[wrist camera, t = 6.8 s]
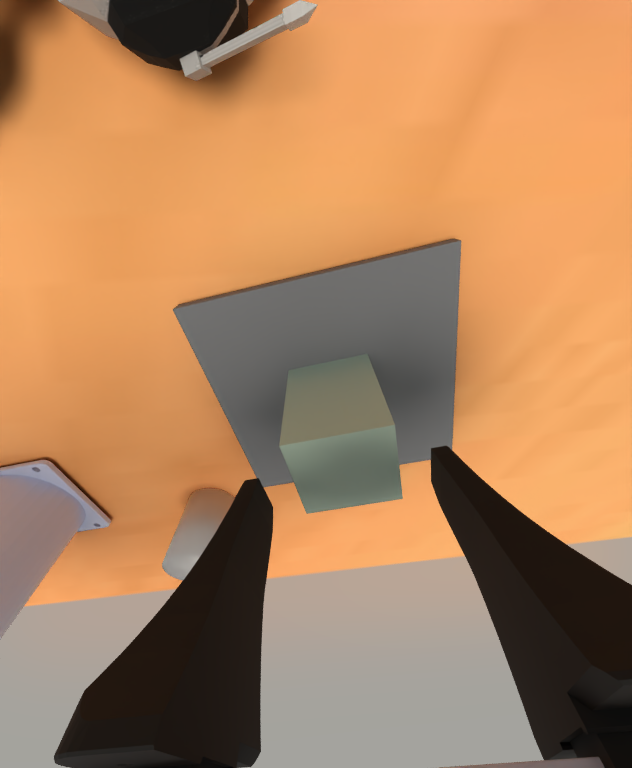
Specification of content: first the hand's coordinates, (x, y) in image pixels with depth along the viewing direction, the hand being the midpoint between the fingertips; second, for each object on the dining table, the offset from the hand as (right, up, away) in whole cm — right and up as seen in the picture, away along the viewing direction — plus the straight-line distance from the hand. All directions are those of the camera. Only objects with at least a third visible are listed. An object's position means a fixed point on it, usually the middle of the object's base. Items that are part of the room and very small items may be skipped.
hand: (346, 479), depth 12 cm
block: (0, +3, +5) cm, 6 cm away
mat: (0, +4, +6) cm, 7 cm away
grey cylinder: (-10, -6, +12) cm, 17 cm away
